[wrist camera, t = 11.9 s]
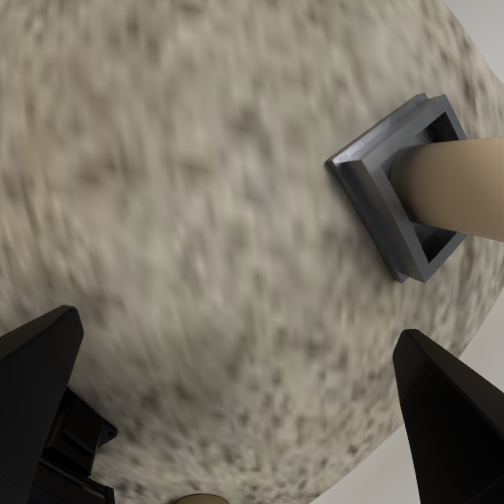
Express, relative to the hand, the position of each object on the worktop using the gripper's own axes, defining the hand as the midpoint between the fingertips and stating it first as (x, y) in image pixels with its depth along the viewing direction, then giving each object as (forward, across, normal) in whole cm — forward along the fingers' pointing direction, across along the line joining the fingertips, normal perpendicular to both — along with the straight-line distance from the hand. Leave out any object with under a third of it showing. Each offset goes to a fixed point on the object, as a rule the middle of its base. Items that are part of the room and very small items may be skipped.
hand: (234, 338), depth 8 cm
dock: (+16, -12, -1) cm, 21 cm away
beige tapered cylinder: (+16, -12, -2) cm, 20 cm away
